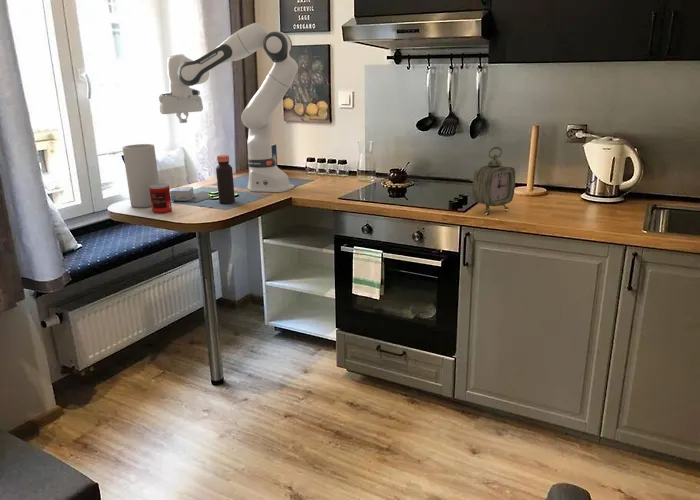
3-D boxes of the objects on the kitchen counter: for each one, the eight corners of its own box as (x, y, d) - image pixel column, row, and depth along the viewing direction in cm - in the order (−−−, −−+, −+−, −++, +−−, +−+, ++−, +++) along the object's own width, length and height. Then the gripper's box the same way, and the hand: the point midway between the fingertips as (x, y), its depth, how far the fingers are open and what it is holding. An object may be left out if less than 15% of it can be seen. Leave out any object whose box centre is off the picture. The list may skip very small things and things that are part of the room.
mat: (222, 193, 262) (222, 193, 262) (196, 202, 247) (196, 201, 246) (202, 191, 267) (202, 191, 267) (175, 200, 252) (175, 199, 252)
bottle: (216, 202, 246) (211, 155, 240) (230, 199, 250) (226, 154, 244) (223, 205, 241) (218, 157, 235) (238, 202, 245) (233, 155, 239)
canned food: (167, 208, 238) (163, 182, 234) (175, 211, 232) (172, 185, 228) (149, 211, 233) (145, 185, 229) (157, 215, 227) (153, 188, 224)
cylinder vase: (145, 209, 237) (137, 148, 229) (124, 206, 243) (115, 147, 235) (167, 202, 247) (160, 144, 239) (147, 200, 253) (139, 143, 245)
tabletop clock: (486, 217, 213) (490, 150, 205) (469, 212, 220) (472, 147, 212) (513, 211, 220) (517, 146, 212) (495, 206, 227) (499, 143, 220)
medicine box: (193, 186, 255) (187, 190, 247) (194, 196, 256) (189, 200, 248) (175, 187, 255) (169, 191, 247) (176, 197, 257) (170, 201, 248)
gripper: (161, 93, 252) (165, 125, 256) (203, 91, 265) (206, 121, 269) (155, 93, 256) (159, 124, 260) (196, 90, 269) (199, 120, 274)
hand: (183, 122), depth 265 cm, fingers closed
